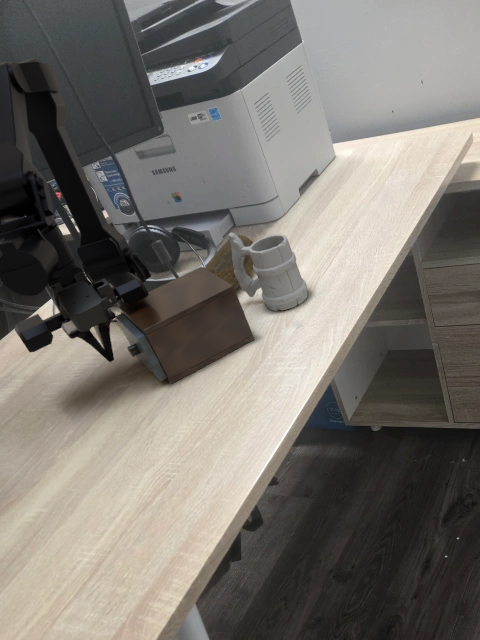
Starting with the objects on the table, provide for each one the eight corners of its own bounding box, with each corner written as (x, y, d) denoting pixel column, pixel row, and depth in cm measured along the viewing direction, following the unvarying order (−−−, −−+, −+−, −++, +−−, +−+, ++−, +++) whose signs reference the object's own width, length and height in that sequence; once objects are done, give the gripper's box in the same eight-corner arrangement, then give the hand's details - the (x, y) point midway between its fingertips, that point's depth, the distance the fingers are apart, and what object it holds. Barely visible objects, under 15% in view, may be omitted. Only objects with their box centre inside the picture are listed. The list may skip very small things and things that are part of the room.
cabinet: (171, 384, 97) (143, 330, 91) (145, 357, 106) (117, 306, 100) (254, 339, 102) (233, 285, 95) (222, 317, 110) (201, 266, 104)
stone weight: (232, 268, 125) (219, 234, 121) (265, 264, 123) (252, 229, 119) (201, 308, 115) (185, 272, 111) (236, 304, 113) (221, 267, 108)
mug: (299, 310, 105) (274, 238, 97) (237, 314, 110) (209, 245, 102) (316, 287, 110) (294, 216, 102) (256, 292, 115) (230, 224, 107)
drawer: (153, 385, 96) (129, 342, 92) (130, 360, 104) (107, 320, 99) (238, 340, 101) (220, 296, 96) (210, 319, 109) (192, 278, 104)
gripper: (0, 309, 82) (67, 409, 92) (134, 248, 88) (183, 348, 98) (-14, 288, 90) (50, 382, 100) (110, 233, 95) (158, 327, 106)
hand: (111, 360), depth 101 cm, fingers closed
